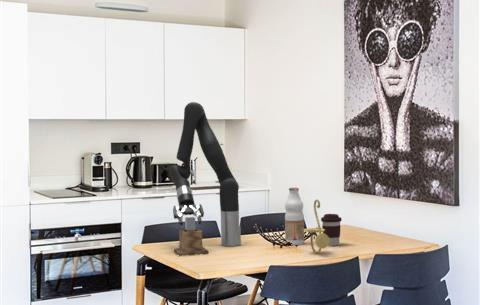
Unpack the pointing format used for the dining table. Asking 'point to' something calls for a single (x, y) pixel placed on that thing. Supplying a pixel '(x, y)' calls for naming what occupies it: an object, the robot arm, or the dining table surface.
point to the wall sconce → (322, 238)
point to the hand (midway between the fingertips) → (190, 223)
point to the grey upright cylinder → (190, 224)
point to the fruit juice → (294, 218)
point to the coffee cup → (332, 228)
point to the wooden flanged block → (190, 243)
